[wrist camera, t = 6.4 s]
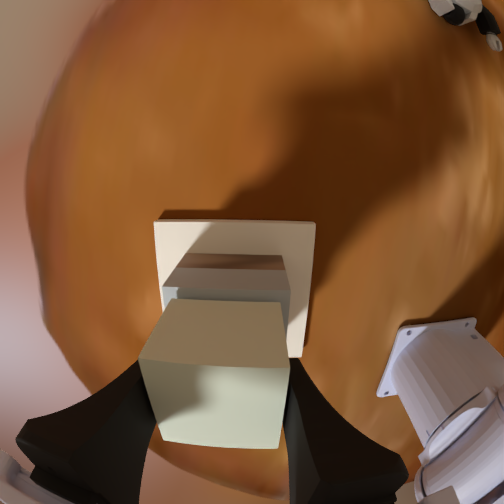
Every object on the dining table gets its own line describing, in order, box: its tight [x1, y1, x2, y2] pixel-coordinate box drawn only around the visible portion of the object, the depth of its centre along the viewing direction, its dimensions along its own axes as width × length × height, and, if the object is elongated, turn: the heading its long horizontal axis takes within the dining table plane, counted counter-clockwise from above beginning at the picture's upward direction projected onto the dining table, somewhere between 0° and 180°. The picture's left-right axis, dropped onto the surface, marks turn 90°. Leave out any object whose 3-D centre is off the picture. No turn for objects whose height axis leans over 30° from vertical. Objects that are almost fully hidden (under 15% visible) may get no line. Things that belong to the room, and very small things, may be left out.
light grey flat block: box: [162, 267, 291, 339], centre depth 15 cm, size 6×6×2 cm
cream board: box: [154, 219, 316, 357], centre depth 19 cm, size 10×10×1 cm
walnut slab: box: [176, 253, 286, 270], centre depth 17 cm, size 6×6×2 cm
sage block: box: [138, 298, 290, 449], centre depth 11 cm, size 5×5×4 cm
